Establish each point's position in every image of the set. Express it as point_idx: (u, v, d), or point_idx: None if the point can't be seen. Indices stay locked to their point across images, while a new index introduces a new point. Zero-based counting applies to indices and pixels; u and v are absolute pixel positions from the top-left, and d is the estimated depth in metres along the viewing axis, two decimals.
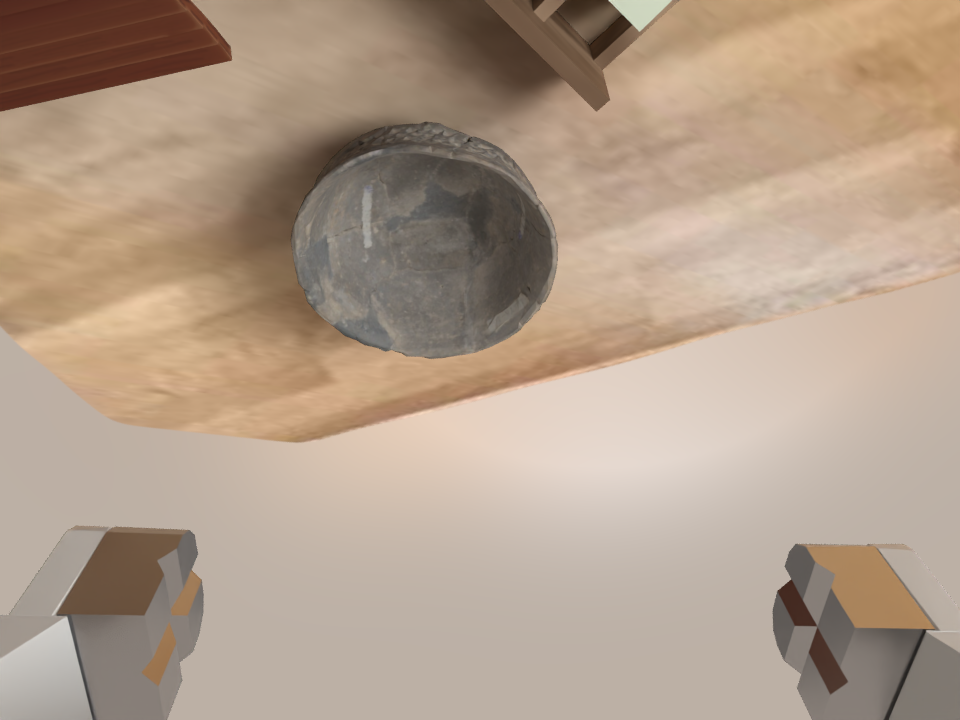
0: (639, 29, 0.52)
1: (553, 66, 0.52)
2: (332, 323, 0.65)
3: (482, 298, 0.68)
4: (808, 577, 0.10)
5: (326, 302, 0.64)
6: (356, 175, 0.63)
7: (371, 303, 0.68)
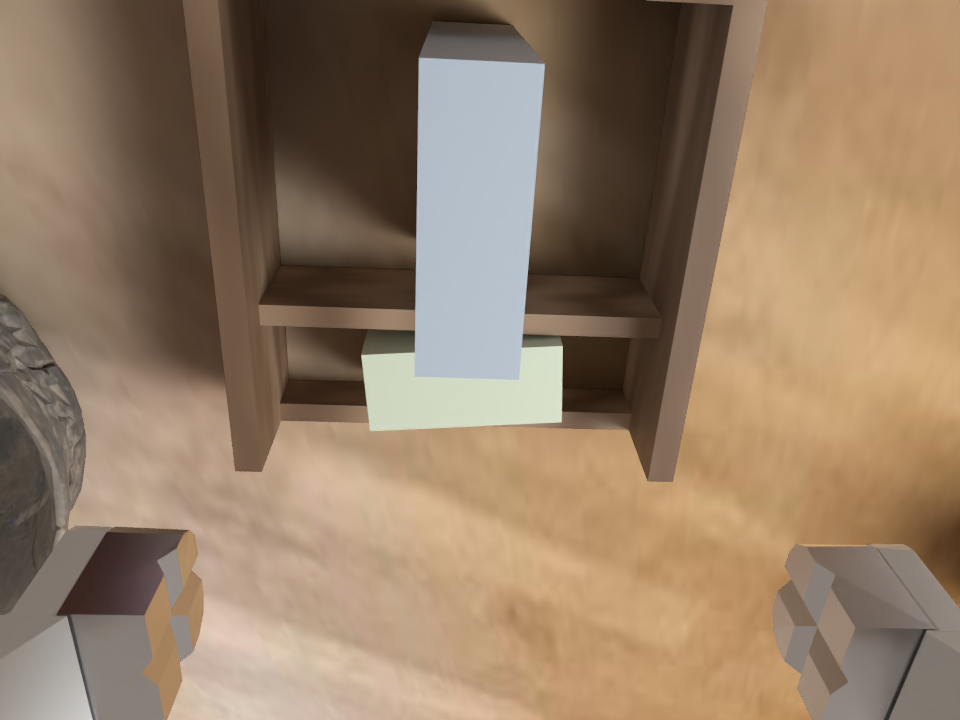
0: (371, 428, 0.37)
1: (228, 384, 0.34)
2: None
3: None
4: (808, 577, 0.10)
5: None
6: None
7: None
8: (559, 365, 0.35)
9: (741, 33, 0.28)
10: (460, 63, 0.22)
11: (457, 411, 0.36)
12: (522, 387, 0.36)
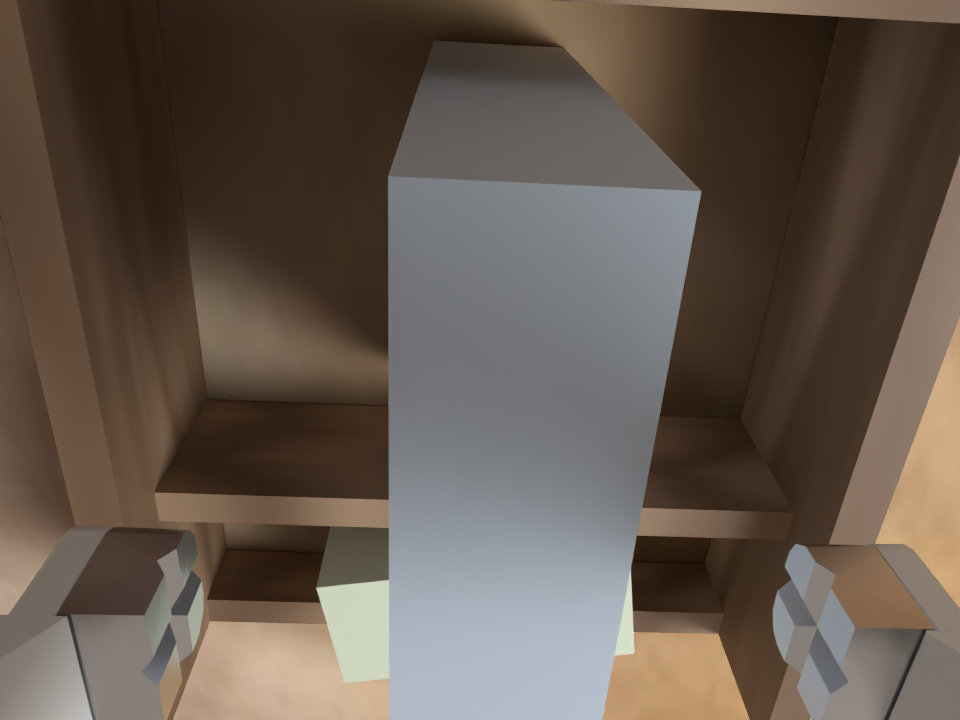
0: (346, 680, 0.24)
1: None
2: None
3: None
4: (808, 577, 0.10)
5: None
6: None
7: None
8: None
9: None
10: (491, 191, 0.09)
11: None
12: None
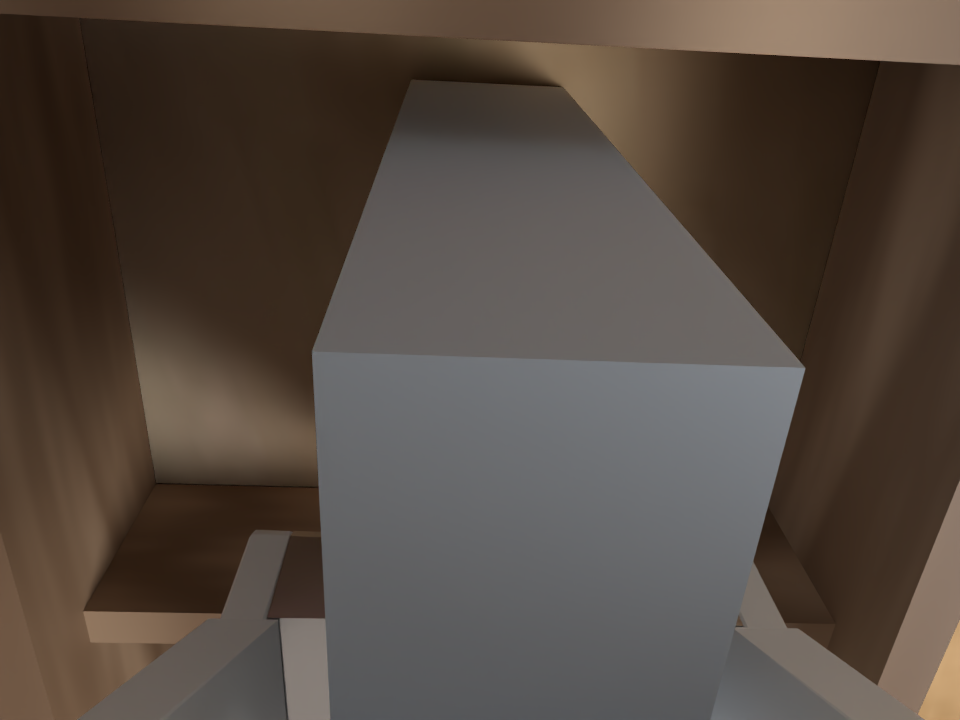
0: None
1: None
2: None
3: None
4: None
5: None
6: None
7: None
8: None
9: None
10: (477, 371, 0.06)
11: None
12: None
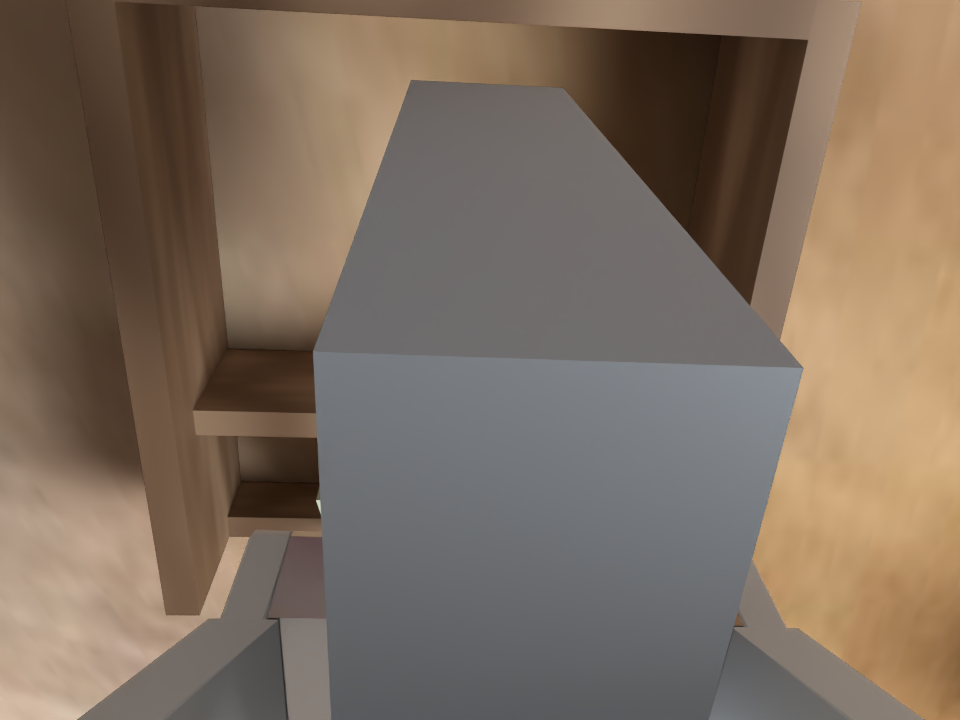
0: None
1: (152, 513, 0.27)
2: None
3: None
4: None
5: None
6: None
7: None
8: None
9: (817, 76, 0.21)
10: (477, 371, 0.06)
11: None
12: None
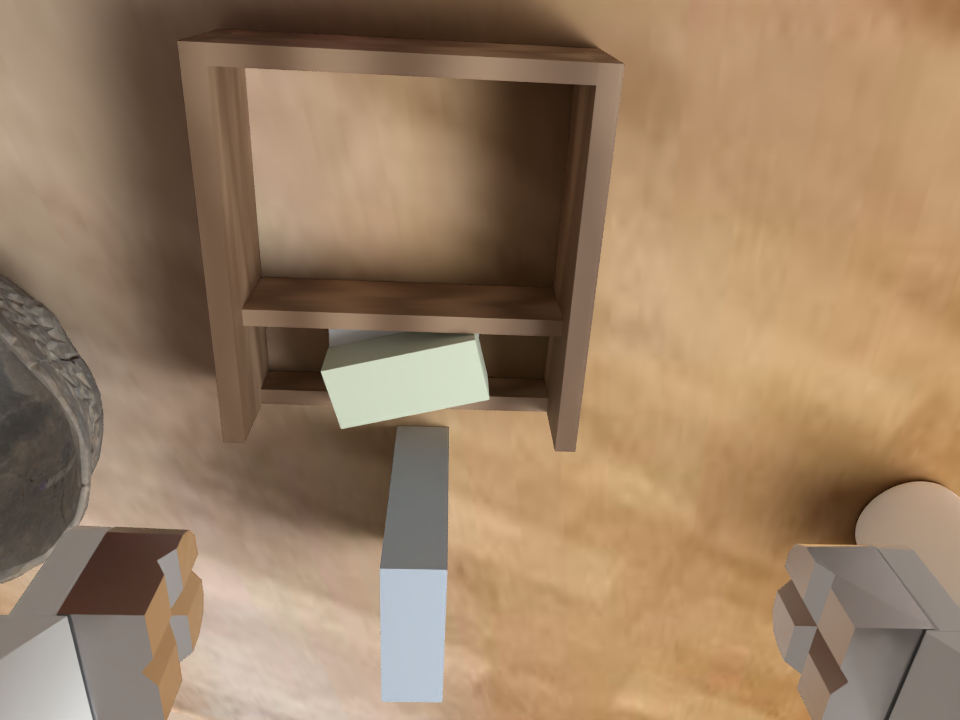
0: (341, 427, 0.46)
1: (217, 372, 0.43)
2: None
3: None
4: (808, 577, 0.10)
5: None
6: None
7: None
8: (476, 355, 0.44)
9: (604, 105, 0.37)
10: (402, 570, 0.41)
11: (405, 403, 0.46)
12: (451, 377, 0.45)
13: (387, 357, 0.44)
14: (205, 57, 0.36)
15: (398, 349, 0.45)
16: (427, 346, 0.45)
